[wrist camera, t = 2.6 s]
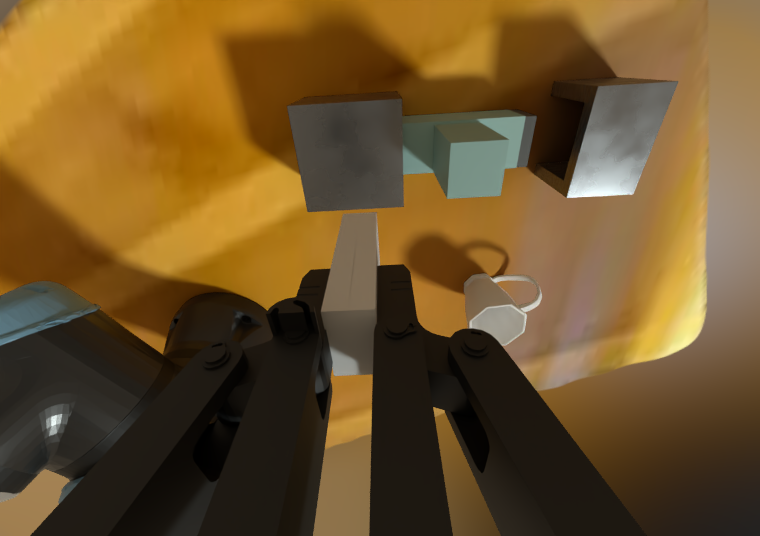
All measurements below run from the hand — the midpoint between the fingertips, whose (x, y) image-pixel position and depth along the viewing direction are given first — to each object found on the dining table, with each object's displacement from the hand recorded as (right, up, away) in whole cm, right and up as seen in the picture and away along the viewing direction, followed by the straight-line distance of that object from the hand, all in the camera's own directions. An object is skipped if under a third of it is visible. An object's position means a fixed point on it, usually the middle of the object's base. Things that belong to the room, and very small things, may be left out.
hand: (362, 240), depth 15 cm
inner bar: (+4, +12, +18) cm, 22 cm away
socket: (+21, +13, +18) cm, 30 cm away
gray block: (-2, +12, +18) cm, 22 cm away
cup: (+16, -3, +29) cm, 33 cm away
